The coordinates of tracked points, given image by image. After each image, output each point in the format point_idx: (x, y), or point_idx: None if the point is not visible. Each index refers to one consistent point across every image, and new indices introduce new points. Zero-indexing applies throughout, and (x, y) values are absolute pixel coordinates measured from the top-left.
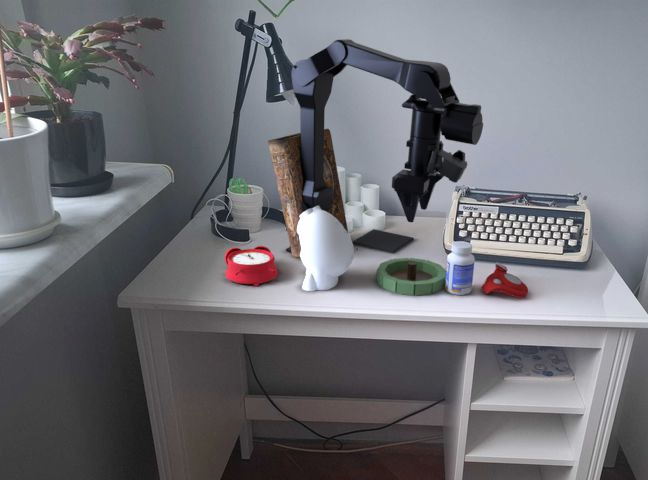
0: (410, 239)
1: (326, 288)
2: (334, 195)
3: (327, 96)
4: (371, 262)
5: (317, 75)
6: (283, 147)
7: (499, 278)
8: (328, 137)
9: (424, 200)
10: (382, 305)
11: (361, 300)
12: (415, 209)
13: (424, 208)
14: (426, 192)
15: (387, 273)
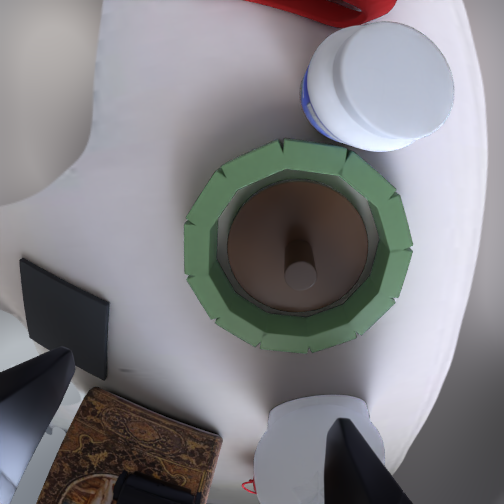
0: (30, 266)
1: (365, 404)
2: (78, 472)
3: None
4: (187, 348)
5: None
6: None
7: None
8: None
9: (45, 394)
10: (446, 302)
11: (419, 344)
12: (398, 485)
13: (68, 359)
14: (10, 422)
15: (266, 315)
